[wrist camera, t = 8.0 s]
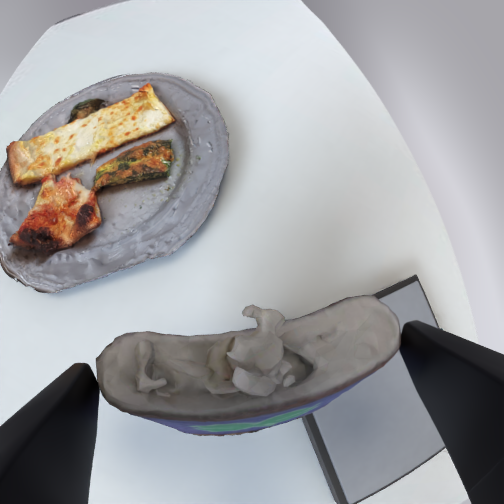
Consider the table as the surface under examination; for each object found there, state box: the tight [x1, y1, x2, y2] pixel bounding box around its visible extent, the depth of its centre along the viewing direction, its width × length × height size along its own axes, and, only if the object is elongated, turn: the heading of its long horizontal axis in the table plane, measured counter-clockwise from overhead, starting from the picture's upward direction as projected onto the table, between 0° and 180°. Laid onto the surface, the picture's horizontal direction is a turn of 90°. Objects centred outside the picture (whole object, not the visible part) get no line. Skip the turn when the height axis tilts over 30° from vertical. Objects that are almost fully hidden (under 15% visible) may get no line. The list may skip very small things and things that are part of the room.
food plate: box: [0, 72, 229, 293], centre depth 24 cm, size 25×23×4 cm
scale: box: [301, 275, 446, 504], centre depth 18 cm, size 14×12×2 cm
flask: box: [96, 295, 401, 436], centre depth 10 cm, size 9×3×11 cm, turn 101°
